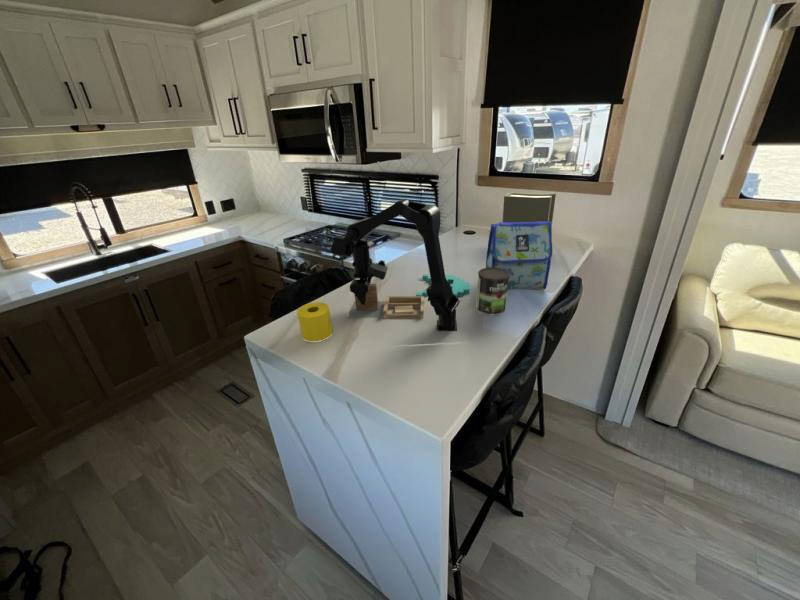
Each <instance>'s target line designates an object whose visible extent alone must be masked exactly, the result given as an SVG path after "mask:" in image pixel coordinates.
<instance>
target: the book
mask: <svg viewBox="0 0 800 600" xmlns="http://www.w3.org/2000/svg"><path fill="white" fill-rule="evenodd" d="M556 196H557V195H556V192H555V193H554V192H553V193H530V192H528V193H527V192H507V193H506V194H505V195H504V196H503V207H502V208H503V209H502V222H505V223H520V222H551V226H552V225H553V219H554V212H555V211H554V210H555V204H556V203H555V202H556Z"/></svg>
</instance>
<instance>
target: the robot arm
mask: <svg viewBox="0 0 800 600" xmlns="http://www.w3.org/2000/svg"><path fill="white" fill-rule="evenodd" d="M399 216H401V217H403V218H404V219H405V220H407V221H408V222H409V223H412V224H415V227H416V229H417V232H418V233H419V235H420V236H421V237H422V239H423V244H424V248H425V249H424V250H425V255H426V260H427V265H428V266H427V267H428V271H429V276H430V277H431V282H430V285H429V286H428V287H427V288H426V289H425V290H426V292H427V295H428V296H427V302H429V304H430V306H431V307H432V308H433V310H434V313H435V316H437V318H438V319H437V320H436V329H437V331H439V332H457V331H458V323H457V307H458V306H459V304H460V302H461V300H460V299H459V297H458V296H457V297H456V296H455V295H454V294H453V291H452V288H451V285H450V283H449V282H448V281H447V279H446V277H445V275H446V273H445V267H444V260H443V254H442V250H441V249H442V248H441V247H442V246H441V242H440V237H439V235H440V229H441V211H440V209H439V207H437V206H436V205H434V204H425V203H423V202H417V201H412V200H409V199H407V198H402V199H400V200H398V201H395V202H394V204H392V205H390V206H389V207H387V208H385V209H383V210H381V211H379V212H378V213H376V214H374V215H372V216H369V217H366V218H363V219H359V220H357V221H355V222H353V223H351V224H348V226H347V227H346V230H347V231H346V234H345V235H344V236H341V235H335V236H333V241H332V243H331V248H330V250H331V254H332V255H333V256H334V255H335V256H340V257H348V258H349V257H351V256H352V261H353V262H352V267H353V270H354V272H353V278H357V279H353V280H352V281H351V282H350V285H349V291H350V292H351V293H353V294H355V295H356V297H357V298H358V300H359V301H360V302H361V304H362V305H365V301H366V293H367V292H368V291H369V289H370V284H372V279H373V277H374V278H377V279H379V280H384V279H385V278H386V274H387V273H388V266H387V265H386V263H385V260H382V259H380V260H379V261H378V263H377V262H373V259H372V258H371V257H370V256H371V254H370V248H372V247H374V246H375V242H374V241H372V240H371V239H370V238H367V239H366V240H363V239H364V238H366V237H368V236H369V235H370V234H372V233H373V232H374V231H375V230H376V228H378V227H380V226H382V225H384V224H386V223H387V222H389V221H391V220H393V219H395V218H396V217H399ZM355 295H354V296H355Z"/></svg>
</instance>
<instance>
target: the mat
mask: <svg viewBox="0 0 800 600" xmlns="http://www.w3.org/2000/svg"><path fill="white" fill-rule="evenodd" d="M385 302H386V300H385V301H379V300H378V310H356V303H355V301H353V304H352V305H351V307H350V308H351V309H350V311H349V312H348V313H349V314H347V315H348V316H347V319H349V318H352V319H353V318H356V319H357V318H359V319H360V318H361V319H362V318H363V319H364V318H370V319H372V318H373V319H374V318H375V319H376V318H378V319H380V318H382V316H383V310H384V306H385Z"/></svg>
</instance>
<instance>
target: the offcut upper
mask: <svg viewBox="0 0 800 600" xmlns="http://www.w3.org/2000/svg"><path fill="white" fill-rule="evenodd" d="M413 309H414V308H413V306H395V308H394V313H395V314H413Z"/></svg>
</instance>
